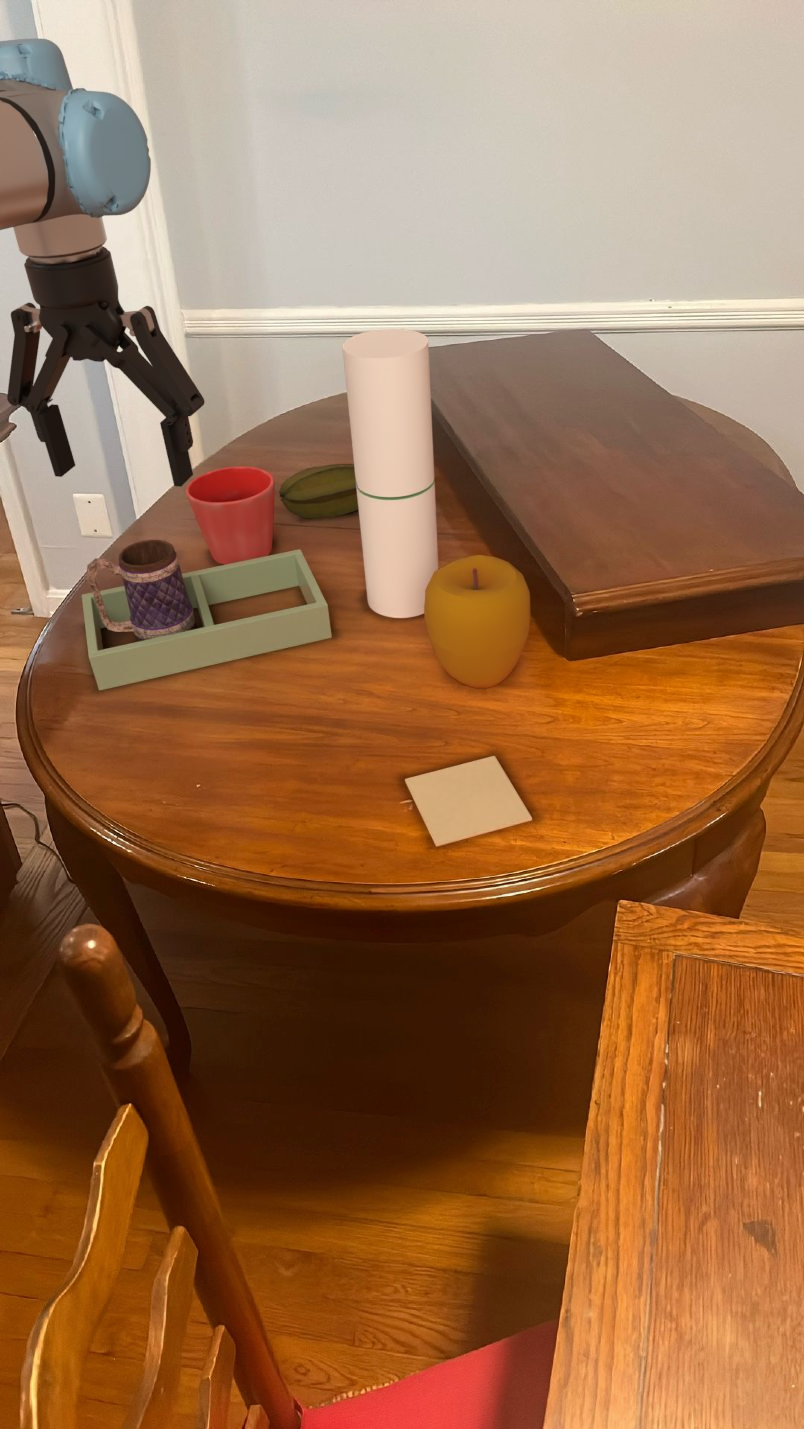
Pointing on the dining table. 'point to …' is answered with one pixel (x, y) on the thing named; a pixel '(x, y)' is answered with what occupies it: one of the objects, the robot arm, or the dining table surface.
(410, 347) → the container
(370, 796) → the dining table surface
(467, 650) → the apple
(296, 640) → the holder
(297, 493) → the fruit
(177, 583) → the mug
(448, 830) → the coaster
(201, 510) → the flower pot
